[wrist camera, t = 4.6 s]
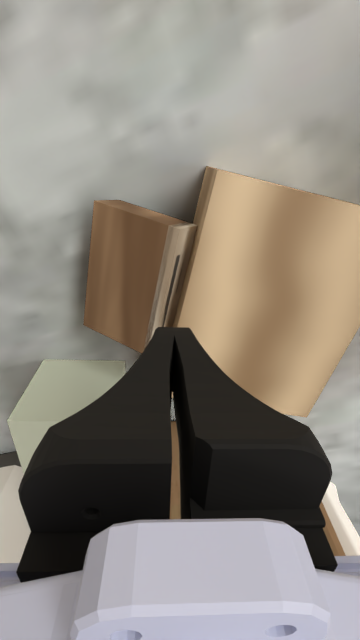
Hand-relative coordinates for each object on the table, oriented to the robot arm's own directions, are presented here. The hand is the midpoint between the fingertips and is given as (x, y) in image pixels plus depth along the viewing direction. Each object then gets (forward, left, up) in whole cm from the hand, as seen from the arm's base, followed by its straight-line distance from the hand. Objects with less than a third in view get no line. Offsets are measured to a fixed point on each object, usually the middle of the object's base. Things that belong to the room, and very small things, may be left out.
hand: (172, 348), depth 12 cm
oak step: (-6, 0, -9) cm, 10 cm away
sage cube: (+4, +11, -9) cm, 15 cm away
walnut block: (0, 0, -5) cm, 5 cm away
